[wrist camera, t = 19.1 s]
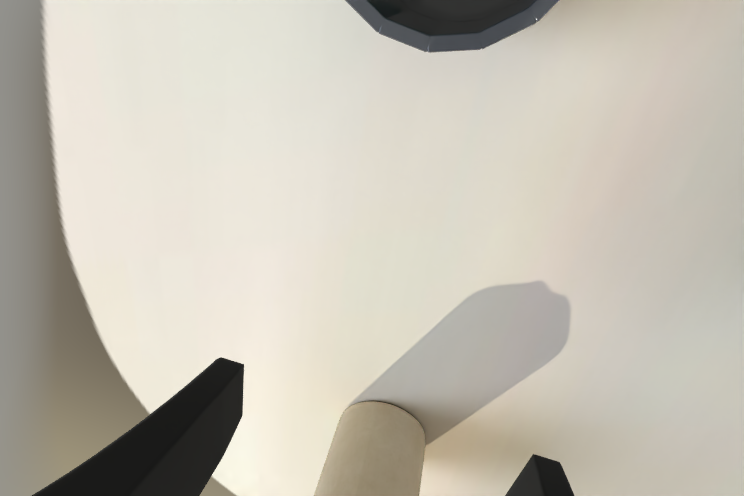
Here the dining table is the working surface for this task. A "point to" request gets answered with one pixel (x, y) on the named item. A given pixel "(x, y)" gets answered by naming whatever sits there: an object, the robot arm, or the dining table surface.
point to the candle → (374, 453)
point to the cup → (450, 21)
